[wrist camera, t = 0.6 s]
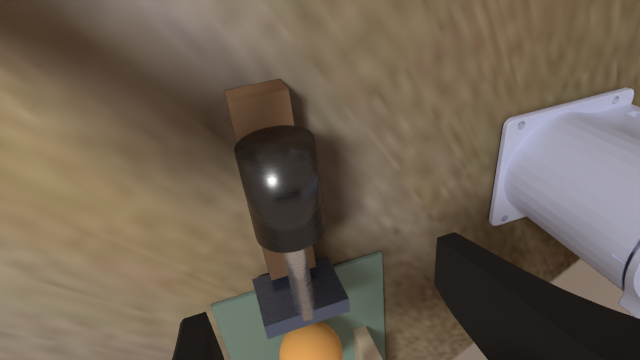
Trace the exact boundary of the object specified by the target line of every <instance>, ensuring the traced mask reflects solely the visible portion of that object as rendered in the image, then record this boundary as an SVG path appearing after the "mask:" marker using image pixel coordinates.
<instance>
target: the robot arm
mask: <svg viewBox="0 0 640 360" xmlns="http://www.w3.org/2000/svg"><path fill="white" fill-rule="evenodd" d="M633 96H634V90H633V89H630V88H622V89H618V90H615V91H611V92H607V93H603V94H599V95H595V96H592V97H588V98H584V99H580V100H576V101H572V102H569V103H565V104H561V105H557V106H553V107H549V108H546V109H542V110H538V111H534V112H530V113H526V114H523V115H519V116H515V117H511V118H509V119H508V120H507V121H506V122H505V123H504V125H503V130H502V137H501V143H500V150H499V156H498V163H497V169H496V176H495V182H494V189H493V195H492V202H491V208H490V215H489V222H490V223H491V224H492V225H493V226H498V225H501V224H504V223H507V222H510V221H513V220H516V219H519V218H522V217H526V216H527V217H528V218H529V219H531V220H532V221H533V222H534V223H536V224H537V225H538V226H540V227H541V228H542V229H543V230H545V231H546V232H547V233H549V234H550V235H551V236H552V237H554V238H555V239H556V240H558V241H559V242H560V243H562V244H563V245H564V246H565V247H567V248H568V249H569V250H571V251H572V252H573V253H574V254H576V255H577V256H578V257H580V258H581V259H582V260H584V261H585V262H586V263H587V264H589V265H590V266H591V267H593V268H594V269H595V270H596V271H598V272H599V273H600V274H602V275H603V276H604V277H606V278H607V279H608V280H609V281H611V282H612V283H613V284H615V285H616V286H617V287H619V288H620V289H621V290H622V291H624V293H623V296H622V298H621V299H620V301H619V305H620V306H622V307H623V308H624V309H625V310H627V311H628V312H629V313H630V314H631V315H633V316H634V317H633V316H630V315H627V314H624V313H621V312H618V311H615V310H612V309H610V308H607V307H604V306H602V305H599V304H597V303H594V302H592V301H589V300H587V299H584V298H582V297H580V296H577V295H575V294H573V293H570V292H568V291H566V290H563V289H561V288H559V287H557V286H555V285H553V284H551V283H549V282H547V281H544V280H542V279H540V278H538V277H536V276H534V275H532V274H530V273H528V272H526V271H524V270H522V269H520V268H519V267H517V266H515V265H513V264H511V263H509V262H507V261H506V260H504V259H502V258H500V257H498V256H496V255H495V254H493V253H491V252H489V251H487V250H486V249H484V248H482V247H480V246H479V245H477V244H475V243H473V242H471V241H470V240H468V239H466V238H464V237H462V236H461V235H459V234H457V233H455V232H453V233H450V234H447V235H444V236H441V237H438V238H437V248H436V264H435V279H434V284H435V286H436V288H437V289H438V291H439V293H440V295H441V296H442V298H443V300H444V301H445V303H446V305H447V306H448V308H449V309H450V311H451V313H452V314H453V315H454V317H455V318H456V319H457V320H458V322H459V323H460V324H461V326H462V327H463V328H464V330H465V331H466V332H467V334H468V335H469V336H470V337H471V339H472V340H473V341H474V342H475V344H476V345H477V346H478V348H479V349H480V350H481V351H482V353H483V354H484V355H485V356H486V358H487V359H488V360H640V107H638V106H635V105H632V104H631V102H632V99H633ZM519 123H520V124H519ZM518 124H519V125H518ZM172 360H224V357H223V354H222V351H221V349H220V346H219V344H218V341H217V339H216V336H215V334H214V331H213V329H212V326H211V324H210V321H209V319H208V316H207V314H206V312H203V313H200V314H197V315H194V316H191V317H188V318H185V319H183V320H182V322H181V323H180V328H179V334H178V338H177V343H176V347H175V351H174V355H173V359H172Z"/></svg>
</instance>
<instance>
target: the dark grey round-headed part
mask: <svg viewBox="0 0 640 360" xmlns="http://www.w3.org/2000/svg"><path fill="white" fill-rule="evenodd" d="M234 152H235V156H236V160H237V164H238V168H239V172H240V176H241V180H242V184H243V188H244V192H245V196H246V200H247V204H248V208H249V212H250V216H251V220H252V224H253V228H254V232H255V236H256V239H257V241H258V243H259V244H260V245H261V246H262V247H263V248H265V249H267V250H269V251H272V252H277V253H283V254H284V259H285V264H286V269H287V273H288V276H285V277H281V278H278V279H275V280H272V281H271V277H270V274H268V275H265V276H262V277H258V278H255V279H252V280H253V284H254V288H255V292H256V296H257V300H258V304H259V308H260V312H261V316H262V320H263V324H264V328H265V332H266V335H267V339H270V338H273V337H276V336H279V335H282V334H285V333H288V332H291V331H294V330H297V329H299V328H302V327H305V326H308V325H311V324H314V323H317V322H320V321H323V320H326V319H329V318H331V317H334V316H337V315H340V314H343V313H346V312H349V311H350V305H349V298H348V296H347V294H346V292H345V290H344V288H343V286H342V284H341V282H340V280H339V278H338V276H337V274H336V272H335V270H334V268H333V266H332V264H331V262H330V260H329V258H328V256H326V257H323V258H320V259H316V260H315V263H316V267H313V268H310V269H309V263H308V257H307V251H306V248H308V247H310V246H312V245H313V244H315V243H316V242H317V241H318V240H319V239H320V238H321V237H322V235H323V234H324V231H325V217H324V209H323V201H322V194H321V186H320V178H319V170H318V162H317V154H316V146H315V138H314V135H313V134H312V132H310V131H309V130H307V129H305V128H303V127H299V126H292V125H280V126H272V127H267V128H263V129H259V130H256V131H254V132H252V133H250V134H248V135H246V136H244V137H243V138H242V139H240V140H239V141H238V142H237V144H236V145H235V148H234Z"/></svg>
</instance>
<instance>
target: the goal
mask: <svg viewBox="0 0 640 360" xmlns="http://www.w3.org/2000/svg"><path fill="white" fill-rule="evenodd" d="M352 331H353V341H354V351H355V360H383V359H382V357H381V355H380V353H379V351H378V349H377V348H376V346H375V344H374V342H373V340H372V338H371V336H370V334H369V332H368V330H367V328H366V326H363V327H360V328H357V329H354V330H352Z"/></svg>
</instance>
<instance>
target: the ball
mask: <svg viewBox="0 0 640 360" xmlns="http://www.w3.org/2000/svg"><path fill="white" fill-rule="evenodd" d="M342 357H343V353H342V345H341V342H340V339H339V337H338V335H337V334H336V333H335V331H334V330H333V329H332V328H331V327H330V326H328V325H327V324H325V323H323V322H321V321H320V322H317V323H314V324H311V325H308V326H305V327H302V328H299V329H297V330H294V331H291V332H288V333H286V334H285V336H284V338H283V340H282V342H281V346H280V351H279V358H280V360H342Z"/></svg>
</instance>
